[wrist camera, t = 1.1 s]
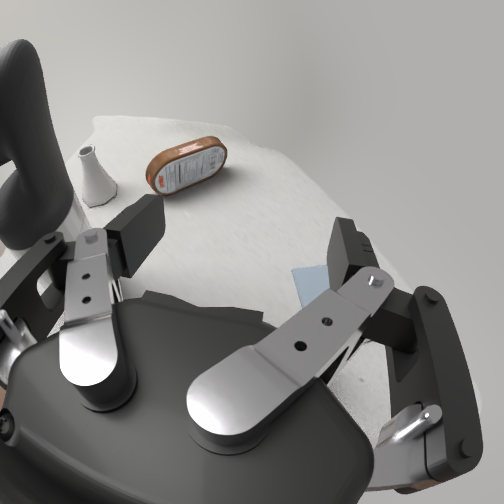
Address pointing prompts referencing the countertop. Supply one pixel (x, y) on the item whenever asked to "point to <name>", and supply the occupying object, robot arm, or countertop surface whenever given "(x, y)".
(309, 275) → the mat
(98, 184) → the flask
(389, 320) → the robot arm
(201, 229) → the countertop surface
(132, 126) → the countertop surface
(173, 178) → the tin
